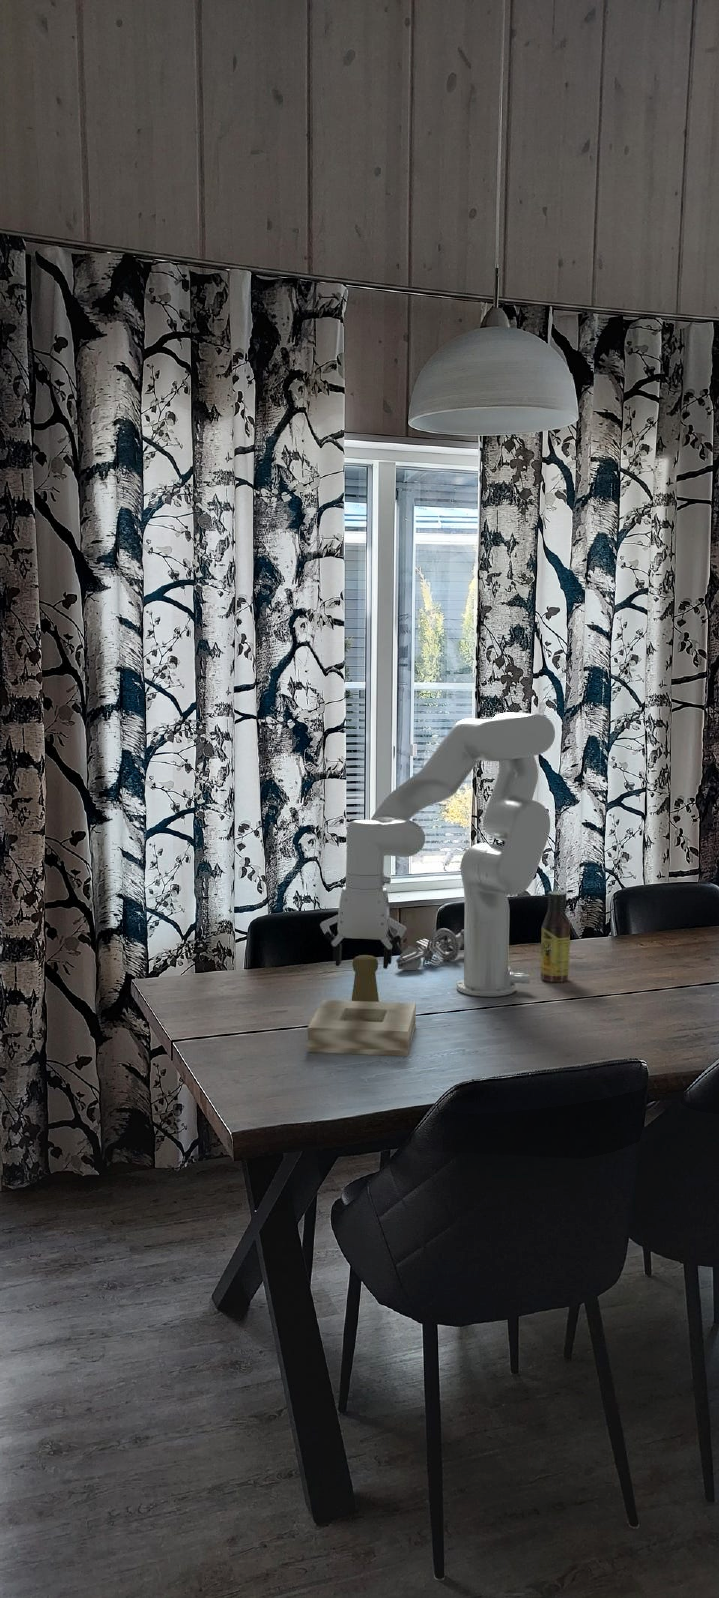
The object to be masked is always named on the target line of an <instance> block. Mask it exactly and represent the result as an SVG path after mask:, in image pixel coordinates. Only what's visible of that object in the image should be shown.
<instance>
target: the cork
mask: <svg viewBox="0 0 719 1598" xmlns="http://www.w3.org/2000/svg"><path fill="white" fill-rule="evenodd" d="M378 969H379V962H378V959H377V958H376V956H373V955H369V954H360V955H358V956H355V957H354V958H353V960H352V970H353V971H354V980H353V984H352V985H353V987H352V993H351V999H350V1001H368V1002H380V1000H379V991H378V984H377V975H376V972H377V970H378Z"/></svg>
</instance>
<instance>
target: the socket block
mask: <svg viewBox="0 0 719 1598" xmlns="http://www.w3.org/2000/svg"><path fill="white" fill-rule="evenodd" d="M416 1006H417V1004H416V1002H396V1001H395V1002H389V1001H387V1002H386V1001H379V1002H368V1001H351V1000H338V999H337V1000H334V999H323V1000H322V1002H321V1003H320V1005H319V1006H318V1008H317V1010H316V1011H315V1014H314V1015H313V1017H312V1019H311V1021H310V1023H309V1024H308V1026H307V1052H308V1053H322V1054H323V1053H325V1054H343V1055H344V1054H349V1055H351V1054H352V1055H366V1056H367V1055H369V1056H370V1055H372V1056H373V1055H375V1056H391V1057H392V1056H393V1057H394V1056H395V1057H396V1056H397V1057H408V1056H409V1053H410V1049H411V1045H412V1040H413V1037H414V1034H415V1029H416V1023H417V1021H416V1019H417V1018H416V1017H417V1016H416V1012H417V1011H416V1010H417V1009H416V1008H417V1007H416Z"/></svg>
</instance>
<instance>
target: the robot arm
mask: <svg viewBox="0 0 719 1598" xmlns="http://www.w3.org/2000/svg"><path fill="white" fill-rule="evenodd" d="M555 738H556V732H555V727H554V724H553V722H552V721H551V720H550V718H549V717H546V716H545V715H544V714H539V713H530V712H529V713H527V712H509V711H508V712H503V713H497V714H496V715H495V716H494V717H492V719H485V718H464V719H461V720H459V721H457V722H456V723H455V724H454V725H453V726H452V727H451V729H450V730H449V731H448V733H447V734H446V736H445V737H443V740H442V741H441V742H440V744H439V745H438V747H437V748H436V750H434V752H433V753H432V755H431V756H430V757H429V759H428V761H426V763H425V764H424V765H423V766H422V768H421V769H420V771H418V772H417V773H416V774H414V775H412V776H411V777H409V778H408V779H407V780H406V781H405V782H403V783H402V784H401V785H399V786H398V787H397V788H395V789H394V790H393V791H392V792H390V794H389V795H388V796H386V797H385V799H384V800H383V801H382V803H381V804H380V806H379V807H377V809H376V810H375V813H374V814H373V815H372V817H371V818H370V819H355V820H352V821H350V822H349V823H348V825H347V832H346V857H345V858H346V859H345V860H346V862H345V865H346V866H345V886H342V889H341V893H340V898H339V905H338V906H339V907H338V914H336V915H334V916H333V917H329V918H328V919H325V920H323V921H321V923H319V926H320V929H321V930H322V932H323V934H324V937H325V938H326V940H327V941H328V942H330V944H331V945H332V961H333V962H335V967H339V966H340V965H341V964H342V952H343V951H342V949H343V948H342V947H343V946H342V944H341V941H343V939H345V938H346V939H361V940H363V939H364V940H380V941H381V943H382V944H383V945H384V949H383V962H382V963H383V964H382V965H383V966H382V967H383V969H384V970H386V969H388V967H389V965H391V964H392V957H393V956H392V955H393V953H392V952H393V951H392V950H393V948H394V947H395V946H396V945H397V944H398V943H399V942H400V941H401V939H402V938H403V936H404V934H405V933H406V930H407V927H406V926H405V925H403V924H402V923H400V922H398V921H397V920H396V919H393V918H392V917H390V903H389V893H388V889H387V888H386V887H384V886H385V885H391V882H392V881H391V877H390V876H388V877H387V876H386V875H385V873H384V871H385V869H384V868H385V867H384V866H385V865H384V864H385V856H386V857H387V856H389V857H390V856H391V857H399V858H410V857H412V856H413V857H414V856H415V855H417V854H419V853H420V852H421V851H422V850H423V848H424V846H425V842H426V835H425V832H424V829H423V828H422V827H421V825H419V824H418V823H416V822H415V821H412V820H411V819H412V818H413V816H415V815H416V814H417V813H418V812H420V811H422V810H423V809H424V808H427V807H429V806H432V805H434V804H437V803H440V802H443V801H445V800H447V799H449V798H451V797H453V796H454V795H455V794H457V792H458V790H459V789H460V787H461V786H462V784H463V783H464V782H465V780H466V779H467V777H468V776H469V775H470V774H471V773H472V771H473V769H474V768H475V766H476V765H477V763H478V762H479V761H482V762H483V761H485V762H498V766H499V767H498V774H497V777H496V782H495V784H494V787H493V789H492V793H491V795H490V798H489V800H488V803H487V806H486V809H485V812H484V816H483V820H482V825H483V829H484V831H485V832H486V834H487V835H488V836H490V837H491V838H494V839H496V840H500V841H503V842H504V845H497V844H493V843H487V842H481V843H475V844H474V845H471V846H470V847H468V849H466V851H465V852H464V853H463V855H462V858H461V862H460V875H461V881H462V886H463V894H464V895H463V897H464V921H463V922H464V926H463V927H464V929H463V930H464V944H463V946H464V947H463V978H462V979H460V980H458V981H457V982H456V990H457V991H459V992H460V993H462V994H465V995H469V996H474V997H485V998H487V997H488V998H489V997H490V998H491V997H492V998H493V997H504V996H507V995H511V994H513V993H514V992H515V991H516V984H523V985H525V984H526V985H530V983H531V982H530V980H531V979H530V974H525V973H523V972H513V971H511V966H509V960H510V959H509V958H510V957H509V955H510V954H509V953H510V952H509V951H510V947H509V945H510V904H509V898H508V896H516V895H520V894H522V893H525V891H526V890H527V889H528V888H529V887H530V886H531V884H532V882H533V881H534V879H535V875H536V873H537V870H538V868H539V866H540V862H541V860H542V857H543V854H544V851H545V848H546V845H547V842H548V839H549V836H550V832H551V818H550V814H549V811H548V810H547V808H546V807H545V805H543V804H542V803H541V802H538V801H536V800H533V798H534V796H535V795H534V794H535V791H536V788H537V784H538V780H539V779H538V778H539V771H538V770H539V769H538V764H537V761H536V758H535V756H539V755H542V754H543V753H545V752H547V751H548V750H549V749H551V747H552V745H553V743H554V741H555ZM336 923H337V926H336V927H337V935H336V936H335V934H334V933H333V932H332V931H331V929H330V926H332V925H334V924H336ZM390 927H391V928H393V929H394V930H396V931H397V933H396V934H395V935H394V936H393V937H392V938H391V937H390V936H389V931H390Z"/></svg>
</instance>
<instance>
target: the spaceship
mask: <svg viewBox="0 0 719 1598" xmlns="http://www.w3.org/2000/svg"><path fill="white" fill-rule="evenodd" d="M416 943H418V944H421V946H420V947H421V948H420V947H414V946H411V945H408V947H407V948H406V949H405V950H404V951H403V952H402V953H400V954H399V956H398V957H397V958H396V959H395V962H396V963H397V964H396V965H395V966H396V967H397V970H403V971H416V970H415V969H418V968H419V969H420V967H421V965H422V964H424V965H425V964H426V963H427V964H428V963H432V964H434V965H437V963H438V964H439V963H440V962H441V963H442V962H443V960H444V959H447V960H449V962H451V961H454V960H456V959H457V957H458V956H459V954H460V948H461V947H462V945H464V929H461V930H460V932H458V933H457V934H455V932H454V931H452V930H451V929H448V928H445V927H443V928H439V929H437V931H436V932H435V933H434V936H433V939H429V940H428V939H426V938H423V939H420V940H418V941H416ZM434 955H435V956H434ZM439 957H440V958H439ZM442 959H443V960H442ZM422 960H423V961H422ZM447 960H446V961H447ZM419 969H418V970H419Z"/></svg>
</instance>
